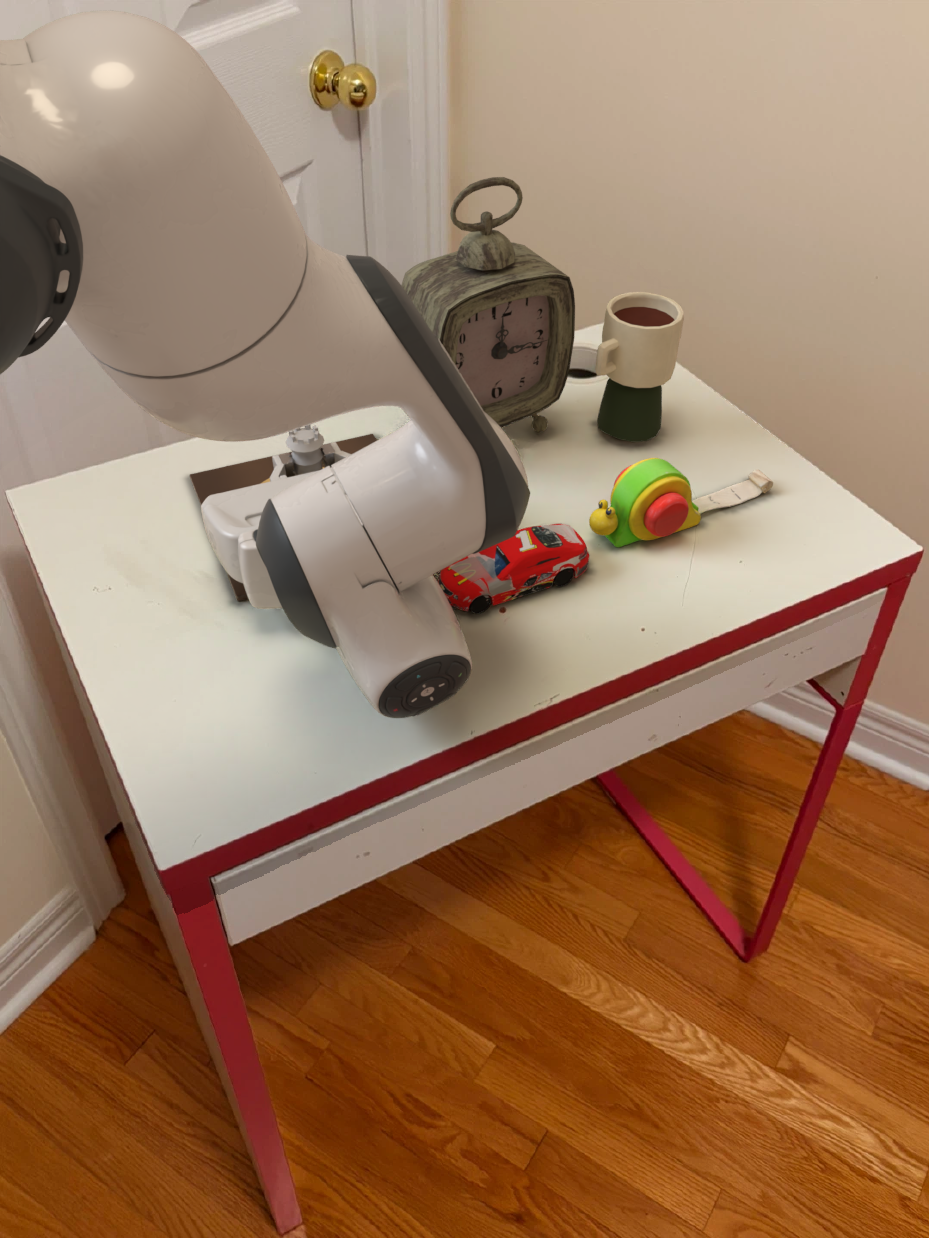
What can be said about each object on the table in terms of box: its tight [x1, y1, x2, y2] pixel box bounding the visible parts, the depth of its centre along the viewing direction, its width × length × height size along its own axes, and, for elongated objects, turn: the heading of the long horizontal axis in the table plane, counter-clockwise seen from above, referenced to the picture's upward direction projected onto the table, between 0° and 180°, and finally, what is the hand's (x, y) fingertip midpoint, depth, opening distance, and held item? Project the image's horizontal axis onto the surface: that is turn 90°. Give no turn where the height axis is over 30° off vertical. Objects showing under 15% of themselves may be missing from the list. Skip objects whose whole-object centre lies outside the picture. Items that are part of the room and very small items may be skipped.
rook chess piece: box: [285, 424, 325, 476], centre depth 91 cm, size 4×4×8 cm
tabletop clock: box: [401, 176, 576, 433], centre depth 95 cm, size 14×9×25 cm, turn 120°
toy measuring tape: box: [588, 457, 774, 548], centre depth 92 cm, size 6×19×7 cm, turn 117°
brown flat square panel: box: [189, 433, 378, 602], centre depth 94 cm, size 18×18×1 cm
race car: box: [437, 523, 590, 614], centre depth 87 cm, size 13×5×4 cm, turn 114°
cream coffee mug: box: [594, 291, 685, 443], centre depth 100 cm, size 11×7×13 cm, turn 128°
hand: (304, 455), depth 91 cm, fingers closed on rook chess piece, 3 cm apart
